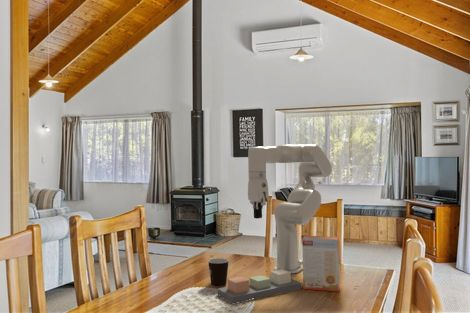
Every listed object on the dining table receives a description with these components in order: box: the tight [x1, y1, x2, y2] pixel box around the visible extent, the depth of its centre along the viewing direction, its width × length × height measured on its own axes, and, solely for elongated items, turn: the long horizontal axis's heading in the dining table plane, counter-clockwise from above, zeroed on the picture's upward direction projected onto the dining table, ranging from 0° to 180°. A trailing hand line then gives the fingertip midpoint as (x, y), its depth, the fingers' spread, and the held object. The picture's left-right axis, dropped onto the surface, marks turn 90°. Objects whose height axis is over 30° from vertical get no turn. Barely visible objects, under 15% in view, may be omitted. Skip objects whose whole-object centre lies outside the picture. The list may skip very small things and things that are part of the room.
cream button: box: [269, 269, 292, 285], centre depth 178 cm, size 6×6×5 cm
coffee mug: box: [207, 257, 229, 288], centre depth 185 cm, size 12×9×10 cm
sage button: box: [249, 274, 271, 289], centre depth 173 cm, size 6×6×5 cm
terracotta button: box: [227, 276, 250, 294], centre depth 167 cm, size 6×6×5 cm
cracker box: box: [301, 235, 340, 293], centre depth 175 cm, size 14×6×21 cm, turn 71°
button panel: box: [216, 278, 302, 304], centre depth 173 cm, size 32×12×2 cm, turn 120°
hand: (257, 217), depth 187 cm, fingers closed
